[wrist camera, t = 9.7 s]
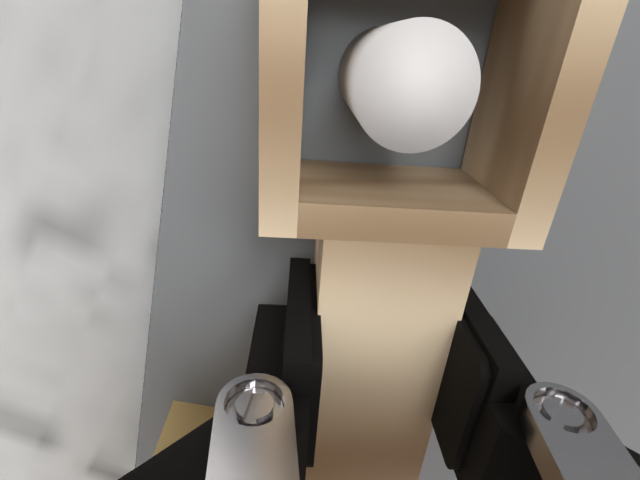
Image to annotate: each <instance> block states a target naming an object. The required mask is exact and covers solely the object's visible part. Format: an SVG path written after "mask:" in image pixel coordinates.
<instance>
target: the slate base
mask: <svg viewBox="0 0 640 480" xmlns="http://www.w3.org/2000/svg"><path fill="white" fill-rule="evenodd" d="M498 1H499V0H308V14H307V35H306V56H305V77H304V98H303V119H302V140H301V159H306V160H323V161H340V162H357V163H374V164H391V165H408V166H424V167H441V168H458V169H461V166H462V161H463V157H464V153H465V148H466V144H467V139H468V135H469V130H470V126H471V121H472V117H473V113H474V108H475V105H476V102H477V100H478V96H479V91H480V83H481V77H482V72H483V68H484V64H485V59H486V55H487V50H488V46H489V41H490V37H491V32H492V28H493V24H494V19H495V15H496V10H497V6H498ZM315 240H316V239H299V238H278V237H259V0H183V5H182V14H181V24H180V34H179V44H178V54H177V63H176V73H175V83H174V93H173V102H172V112H171V122H170V132H169V141H168V151H167V161H166V171H165V181H164V190H163V200H162V210H161V220H160V229H159V239H158V249H157V259H156V268H155V278H154V288H153V298H152V308H151V317H150V327H149V337H148V347H147V356H146V366H145V376H144V386H143V395H142V405H141V415H140V425H139V435H138V444H137V454H136V464H135V468H137V467H138V466H140V465H141V464H143V463H144V462H146V461H147V460H149V459H150V458H152V457H153V456H155V455H156V454H158V453H159V452H161V451H162V450H164V449H165V448H167V447H168V446H170V445H171V444H173V443H174V442H176V441H177V440H179V439H180V438H182V437H183V436H185V435H186V434H188V433H189V432H191V431H192V430H194V429H195V428H197V427H198V426H200V425H201V424H203V423H204V422H206V421H208V420H209V419H211V418H212V417H214V410H215V403H216V400H217V397H218V394H219V392H220V391H221V390H222V388H223V387H224V386H225V385H226V384H227V383H229V382H230V381H231V380H233V379H235V378H237V377H240V376H242V375H245V374H246V368H247V363H248V357H249V352H250V347H251V341H252V336H253V330H254V325H255V319H256V314H257V308H258V305H259V304H273V305H287V297H288V283H289V270H290V258H310V264H314V254H315ZM471 287H472V288H473V290H474V291H475V293H476V294H477V296H478V297H479V299H480V300H481V302H482V303H483V305H484V306H485V308H486V309H487V311H488V312H489V314H490V315H491V316H492V317H493V318H494V320H495V321H496V323H497V324H498V326H499V327H500V329H501V330H502V332H503V333H504V335H505V336H506V338H507V339H508V340H509V342H510V343H511V345H512V346H513V348H514V349H515V351H516V352H517V354H518V355H519V357H520V358H521V360H522V361H523V363H524V364H525V366H526V367H527V368H528V370H529V371H530V373H531V374H532V376H533V377H534V379H535V380H536V382H552V383H557V384H561V385H563V386H566V387H569V388H571V389H573V390H575V391H577V392H578V393H580V394H582V395H584V396H585V397H586V398H587V399H589V400H590V401H591V402H592V403H594V405H595V406H596V407H597V408H598V409H599V410H600V412H601V413H602V414H603V416H604V417H605V418H606V420H607V421H608V423H609V424H610V426H611V427H612V429H613V430H614V432H615V433H616V434H617V436H618V437H619V439H620V440H621V442H622V443H623V445H624V446H626V447H628V448H629V449H631V450H633V451H635V452H637V453H638V454H640V0H629V1H628V4H627V7H626V10H625V13H624V16H623V19H622V21H621V24H620V27H619V30H618V33H617V36H616V39H615V42H614V45H613V47H612V50H611V53H610V56H609V59H608V62H607V65H606V68H605V71H604V73H603V76H602V79H601V82H600V85H599V88H598V91H597V94H596V97H595V99H594V102H593V105H592V108H591V111H590V114H589V117H588V120H587V123H586V125H585V128H584V131H583V134H582V137H581V140H580V143H579V146H578V149H577V151H576V154H575V157H574V160H573V163H572V166H571V169H570V172H569V175H568V177H567V180H566V183H565V186H564V189H563V192H562V195H561V198H560V201H559V203H558V206H557V209H556V212H555V215H554V218H553V221H552V224H551V227H550V230H549V232H548V235H547V238H546V241H545V244H544V247H543V250H528V249H508V248H487V247H481V250H480V254H479V257H478V261H477V265H476V268H475V272H474V276H473V280H472V283H471ZM418 480H457V478H456V475H455V472H454V470H449V469H448V468H447V467H446V464H445V462H444V459H443V456H442V453H441V450H440V447H439V444H438V441H437V437H436V434H435V431H434V428H433V427H432V431H431V435H430V438H429V442H428V446H427V449H426V453H425V457H424V460H423V464H422V468H421V471H420V475H419V479H418Z"/></svg>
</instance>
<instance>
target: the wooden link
mask: <svg viewBox="0 0 640 480" xmlns="http://www.w3.org/2000/svg"><path fill="white" fill-rule="evenodd" d="M628 1H629V0H499V1H498V6H497V10H496V15H495V19H494V24H493V28H492V32H491V37H490V41H489V46H488V50H487V55H486V59H485V64H484V68H483V72H482V77H481V83H480V91H479V96H478V100H477V102H476V105H475V108H474V113H473V117H472V121H471V126H470V130H469V135H468V139H467V144H466V148H465V153H464V157H463V161H462V166H461V169H458V168H441V167H424V166H408V165H391V164H374V163H357V162H340V161H323V160H306V159H301V140H302V119H303V98H304V77H305V56H306V35H307V14H308V0H259V237H278V238H299V239H316V240H315V254H314V264H316V287H317V312H318V315H321V329H322V348H323V372H322V384H321V394H320V405H319V415H318V426H317V436H316V447H315V457H314V467H306V477H305V480H418V479H419V475H420V471H421V468H422V464H423V460H424V457H425V453H426V449H427V446H428V442H429V438H430V435H431V431H432V427H433V425H432V422H431V418H432V414H433V411H434V407H435V403H436V399H437V396H438V392H439V388H440V384H441V381H442V377H443V373H444V369H445V366H446V362H447V358H448V355H449V351H450V347H451V343H452V340H453V336H454V332H455V328H456V325H457V321H461V320H462V316H463V313H464V309H465V305H466V302H467V298H468V294H469V291H470V287H471V283H472V280H473V276H474V272H475V268H476V265H477V261H478V257H479V254H480V250H481V247H487V248H508V249H528V250H543V247H544V244H545V241H546V238H547V235H548V232H549V230H550V227H551V224H552V221H553V218H554V215H555V212H556V209H557V206H558V203H559V201H560V198H561V195H562V192H563V189H564V186H565V183H566V180H567V177H568V175H569V172H570V169H571V166H572V163H573V160H574V157H575V154H576V151H577V149H578V146H579V143H580V140H581V137H582V134H583V131H584V128H585V125H586V123H587V120H588V117H589V114H590V111H591V108H592V105H593V102H594V99H595V97H596V94H597V91H598V88H599V85H600V82H601V79H602V76H603V73H604V71H605V68H606V65H607V62H608V59H609V56H610V53H611V50H612V47H613V45H614V42H615V39H616V36H617V33H618V30H619V27H620V24H621V21H622V19H623V16H624V13H625V10H626V7H627V4H628Z"/></svg>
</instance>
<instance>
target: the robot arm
mask: <svg viewBox="0 0 640 480" xmlns="http://www.w3.org/2000/svg"><path fill="white" fill-rule="evenodd" d="M322 372H323V348H322V329H321V315H318V312H317V287H316V264H310V258H290V270H289V283H288V297H287V305H273V304H259V305H258V308H257V314H256V319H255V325H254V330H253V336H252V341H251V347H250V352H249V357H248V363H247V368H246V374H245V375H242V376H240V377H237V378H235V379H233V380H231V381H230V382H229V383H227V384H226V385H225V386H224V387H223V388H222V390H221V391H220V392H219V394H218V397H217V400H216V403H215V410H214V417H212V418H211V419H209V420H208V421H206V422H204V423H203V424H201V425H200V426H198V427H197V428H195V429H194V430H192V431H191V432H189V433H188V434H186V435H185V436H183V437H182V438H180V439H179V440H177V441H176V442H174V443H173V444H171V445H170V446H168V447H167V448H165V449H164V450H162V451H161V452H159V453H158V454H156V455H155V456H153V457H152V458H150V459H149V460H147V461H146V462H144V463H143V464H141V465H140V466H138V467H137V468H135V469H134V470H132V471H130V472H129V473H127V474H126V475H124V476H123V477H121V478H120V479H118V480H305V477H306V467H314V457H315V447H316V436H317V426H318V415H319V405H320V394H321V384H322ZM431 422H432V425H433V428H434V431H435V434H436V437H437V441H438V444H439V447H440V450H441V453H442V456H443V459H444V462H445V464H446V467H447V468H448V469H449V470H454V472H455V475H456V478H457V480H640V454H638V453H637V452H635V451H633V450H631V449H629V448H628V447H626V446H624V445H623V443H622V442H621V440H620V439H619V437H618V436H617V434H616V433H615V432H614V430H613V429H612V427H611V426H610V424H609V423H608V421H607V420H606V418H605V417H604V416H603V414H602V413H601V412H600V410H599V409H598V408H597V407H596V406H595V405H594V403H592V402H591V401H590V400H589V399H587V398H586V397H585V396H584V395H582V394H580V393H578V392H577V391H575V390H573V389H571V388H569V387H566V386H563V385H561V384H557V383H552V382H536V380H535V379H534V377H533V376H532V374H531V373H530V371H529V370H528V368H527V367H526V366H525V364H524V363H523V361H522V360H521V358H520V357H519V355H518V354H517V352H516V351H515V349H514V348H513V346H512V345H511V343H510V342H509V340H508V339H507V338H506V336H505V335H504V333H503V332H502V330H501V329H500V327H499V326H498V324H497V323H496V321H495V320H494V318H493V317H492V316H491V315H490V314H489V312H488V311H487V309H486V308H485V306H484V305H483V303H482V302H481V300H480V299H479V297H478V296H477V294H476V293H475V291H474V290H473V288H472V287H470V291H469V294H468V298H467V302H466V305H465V309H464V313H463V316H462V320H461V321H457V325H456V328H455V332H454V336H453V340H452V343H451V347H450V351H449V355H448V358H447V362H446V366H445V369H444V373H443V377H442V381H441V384H440V388H439V392H438V396H437V399H436V403H435V407H434V411H433V414H432V418H431Z"/></svg>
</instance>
